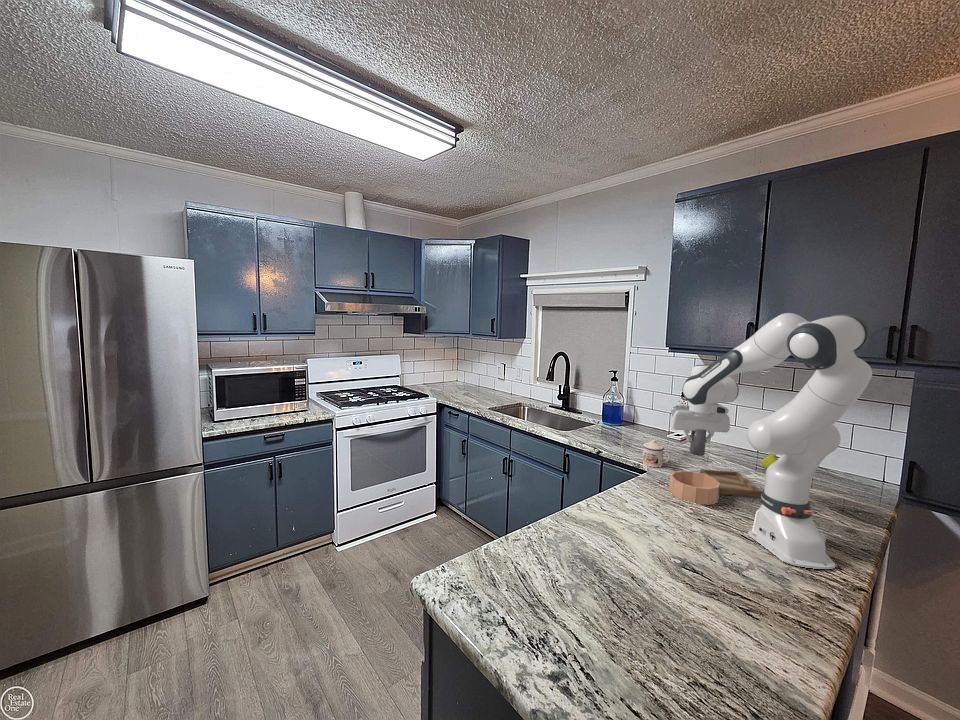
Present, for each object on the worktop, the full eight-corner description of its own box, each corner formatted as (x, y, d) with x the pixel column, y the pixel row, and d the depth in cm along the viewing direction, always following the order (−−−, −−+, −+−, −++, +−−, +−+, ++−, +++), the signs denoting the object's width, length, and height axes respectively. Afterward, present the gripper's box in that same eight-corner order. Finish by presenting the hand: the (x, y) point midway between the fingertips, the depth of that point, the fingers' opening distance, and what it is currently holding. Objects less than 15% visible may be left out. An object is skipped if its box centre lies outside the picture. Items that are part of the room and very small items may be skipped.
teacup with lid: (639, 464, 187) (640, 440, 185) (645, 459, 194) (646, 436, 192) (666, 471, 179) (668, 446, 178) (671, 465, 186) (673, 441, 185)
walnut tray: (761, 498, 154) (762, 492, 154) (719, 495, 156) (720, 489, 156) (736, 477, 174) (737, 471, 174) (699, 474, 176) (700, 469, 176)
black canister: (706, 456, 151) (708, 430, 150) (692, 455, 152) (694, 429, 151) (701, 451, 156) (703, 426, 155) (687, 451, 157) (689, 426, 156)
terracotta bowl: (725, 507, 147) (727, 490, 146) (677, 503, 149) (679, 486, 148) (707, 487, 163) (708, 472, 162) (664, 484, 165) (665, 469, 165)
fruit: (771, 475, 177) (774, 449, 175) (757, 469, 183) (759, 444, 182) (783, 473, 179) (786, 447, 177) (768, 468, 185) (771, 443, 184)
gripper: (674, 407, 150) (672, 442, 152) (733, 409, 147) (730, 446, 149) (669, 403, 156) (666, 437, 158) (725, 406, 153) (722, 441, 155)
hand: (698, 441), depth 153 cm, fingers closed on black canister, 5 cm apart
